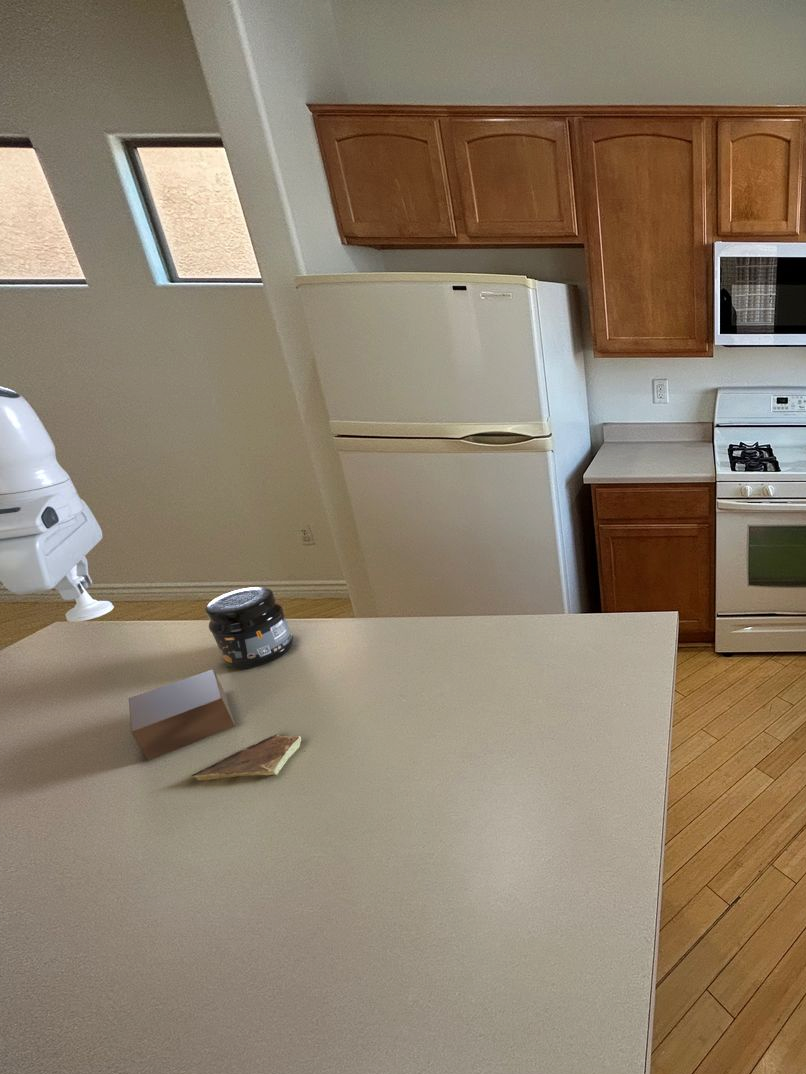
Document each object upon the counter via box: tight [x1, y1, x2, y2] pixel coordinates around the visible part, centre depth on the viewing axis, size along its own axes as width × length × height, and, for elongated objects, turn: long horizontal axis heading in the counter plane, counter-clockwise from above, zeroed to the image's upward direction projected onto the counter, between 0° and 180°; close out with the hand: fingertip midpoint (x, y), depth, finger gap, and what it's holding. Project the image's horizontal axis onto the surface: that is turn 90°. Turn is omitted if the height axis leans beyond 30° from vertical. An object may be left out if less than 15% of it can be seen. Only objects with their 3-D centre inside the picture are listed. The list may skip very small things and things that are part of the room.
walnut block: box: [128, 668, 236, 762], centre depth 86 cm, size 10×10×6 cm
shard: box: [190, 733, 302, 781], centre depth 81 cm, size 11×8×2 cm
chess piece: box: [64, 565, 115, 623], centre depth 81 cm, size 5×5×10 cm
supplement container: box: [204, 586, 295, 670], centre depth 102 cm, size 10×10×12 cm
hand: (79, 592), depth 81 cm, fingers closed on chess piece
